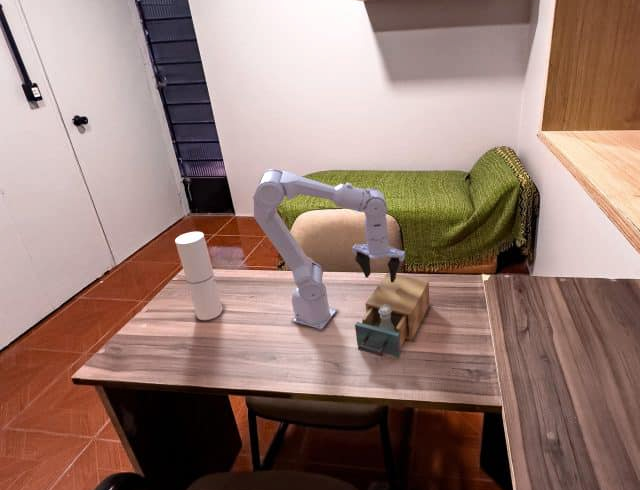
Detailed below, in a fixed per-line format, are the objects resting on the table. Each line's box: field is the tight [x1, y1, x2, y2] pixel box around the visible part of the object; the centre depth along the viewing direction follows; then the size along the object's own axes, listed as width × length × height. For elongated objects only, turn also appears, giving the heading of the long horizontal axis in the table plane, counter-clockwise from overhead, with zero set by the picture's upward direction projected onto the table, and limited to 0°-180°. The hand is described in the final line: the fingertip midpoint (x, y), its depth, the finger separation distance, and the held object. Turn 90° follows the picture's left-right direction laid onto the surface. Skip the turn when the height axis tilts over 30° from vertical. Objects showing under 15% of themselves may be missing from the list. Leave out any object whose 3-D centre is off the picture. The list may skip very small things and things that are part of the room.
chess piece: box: [379, 305, 395, 332], centre depth 99 cm, size 4×4×8 cm
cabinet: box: [365, 272, 430, 341], centre depth 107 cm, size 15×13×9 cm
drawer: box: [354, 307, 409, 358], centre depth 99 cm, size 18×11×7 cm, turn 156°
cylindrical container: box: [174, 231, 224, 321], centre depth 111 cm, size 7×7×25 cm
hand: (380, 277), depth 108 cm, fingers open, 7 cm apart
